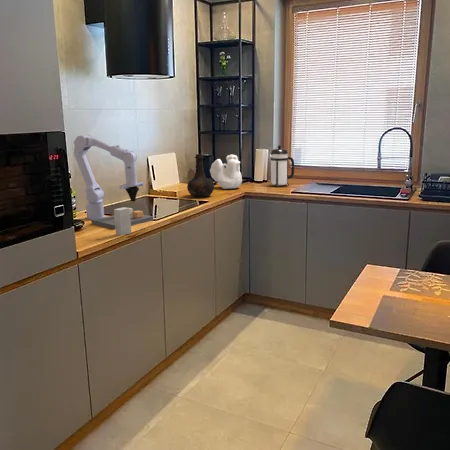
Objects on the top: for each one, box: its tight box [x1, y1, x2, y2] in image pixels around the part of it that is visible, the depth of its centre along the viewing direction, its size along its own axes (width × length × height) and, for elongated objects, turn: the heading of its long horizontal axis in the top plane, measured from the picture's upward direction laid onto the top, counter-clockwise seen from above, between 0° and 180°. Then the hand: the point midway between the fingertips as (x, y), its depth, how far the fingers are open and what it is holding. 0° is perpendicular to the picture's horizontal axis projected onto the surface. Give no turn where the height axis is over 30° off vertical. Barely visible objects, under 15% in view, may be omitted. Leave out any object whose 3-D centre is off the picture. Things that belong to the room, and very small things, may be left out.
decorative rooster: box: [209, 154, 243, 190], centre depth 336 cm, size 25×16×25 cm, turn 48°
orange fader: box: [132, 210, 144, 218], centre depth 239 cm, size 4×4×3 cm
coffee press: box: [269, 144, 295, 188], centre depth 340 cm, size 17×16×30 cm
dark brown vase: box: [186, 153, 215, 198], centre depth 304 cm, size 18×18×28 cm
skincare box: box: [113, 206, 132, 237], centre depth 213 cm, size 6×4×12 cm
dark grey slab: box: [90, 214, 154, 230], centre depth 238 cm, size 20×24×2 cm
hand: (133, 201), depth 242 cm, fingers closed
